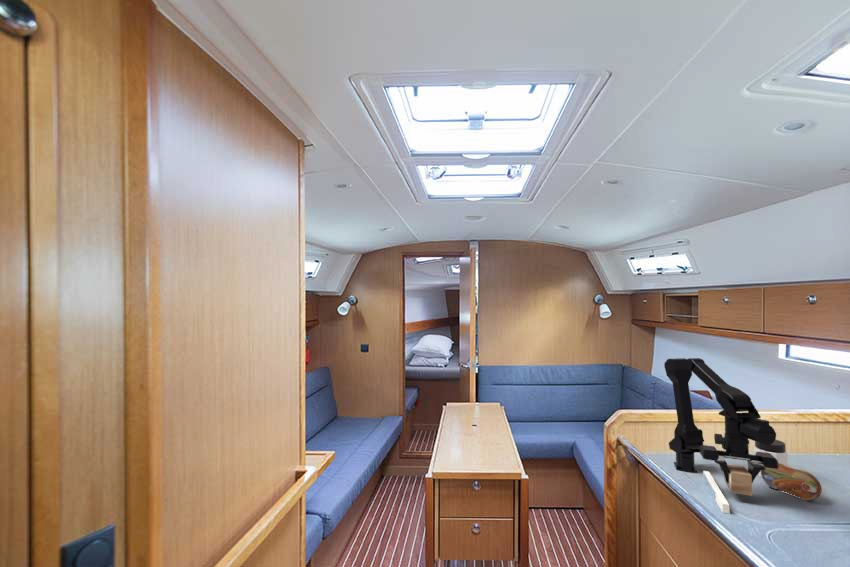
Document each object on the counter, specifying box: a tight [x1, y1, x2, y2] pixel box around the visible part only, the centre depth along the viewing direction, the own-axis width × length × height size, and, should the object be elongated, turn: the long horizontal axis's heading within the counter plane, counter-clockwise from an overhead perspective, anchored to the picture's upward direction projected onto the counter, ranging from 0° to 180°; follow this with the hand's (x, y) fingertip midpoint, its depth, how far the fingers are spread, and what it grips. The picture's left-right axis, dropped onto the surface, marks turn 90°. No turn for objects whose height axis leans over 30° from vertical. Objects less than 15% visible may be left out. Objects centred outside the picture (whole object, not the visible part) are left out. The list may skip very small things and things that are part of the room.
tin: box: [761, 463, 823, 502], centre depth 127 cm, size 15×3×8 cm, turn 21°
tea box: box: [724, 463, 753, 497], centre depth 125 cm, size 7×5×6 cm
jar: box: [753, 439, 789, 478], centre depth 140 cm, size 9×8×12 cm
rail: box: [702, 470, 731, 514], centre depth 127 cm, size 24×2×2 cm, turn 156°
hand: (738, 484), depth 125 cm, fingers closed on tea box, 5 cm apart
